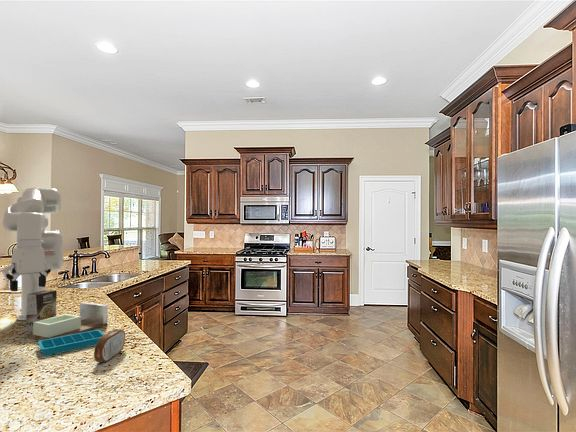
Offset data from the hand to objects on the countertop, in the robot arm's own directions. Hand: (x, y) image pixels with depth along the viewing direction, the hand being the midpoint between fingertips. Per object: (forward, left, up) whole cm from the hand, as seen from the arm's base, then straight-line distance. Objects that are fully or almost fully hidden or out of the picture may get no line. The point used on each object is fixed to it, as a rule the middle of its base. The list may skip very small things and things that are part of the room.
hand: (28, 288), depth 127 cm
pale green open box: (-1, +11, -20) cm, 23 cm away
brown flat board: (-1, +16, -21) cm, 26 cm away
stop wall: (-1, +27, -20) cm, 34 cm away
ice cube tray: (+18, +5, -22) cm, 29 cm away
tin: (+41, +3, -21) cm, 47 cm away
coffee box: (-15, +13, -21) cm, 29 cm away
